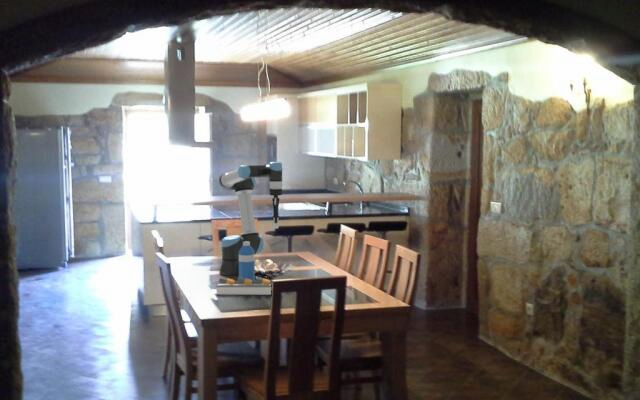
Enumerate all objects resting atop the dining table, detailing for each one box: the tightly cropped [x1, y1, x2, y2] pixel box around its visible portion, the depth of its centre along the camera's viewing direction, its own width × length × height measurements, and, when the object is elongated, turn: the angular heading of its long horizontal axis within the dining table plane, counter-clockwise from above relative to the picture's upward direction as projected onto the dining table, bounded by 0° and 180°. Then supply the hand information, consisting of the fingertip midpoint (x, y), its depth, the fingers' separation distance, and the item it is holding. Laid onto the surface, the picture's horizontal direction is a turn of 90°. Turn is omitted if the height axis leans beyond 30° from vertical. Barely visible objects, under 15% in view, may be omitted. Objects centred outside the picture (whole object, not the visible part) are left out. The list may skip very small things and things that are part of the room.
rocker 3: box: [255, 276, 271, 285], centre depth 384 cm, size 5×8×2 cm, turn 90°
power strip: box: [216, 280, 273, 296], centre depth 385 cm, size 10×30×5 cm, turn 90°
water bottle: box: [238, 241, 256, 281], centre depth 404 cm, size 9×9×25 cm
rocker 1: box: [218, 276, 236, 285], centre depth 385 cm, size 5×8×2 cm, turn 90°
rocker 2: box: [236, 276, 252, 285], centre depth 385 cm, size 5×8×2 cm, turn 90°
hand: (276, 228), depth 406 cm, fingers closed
